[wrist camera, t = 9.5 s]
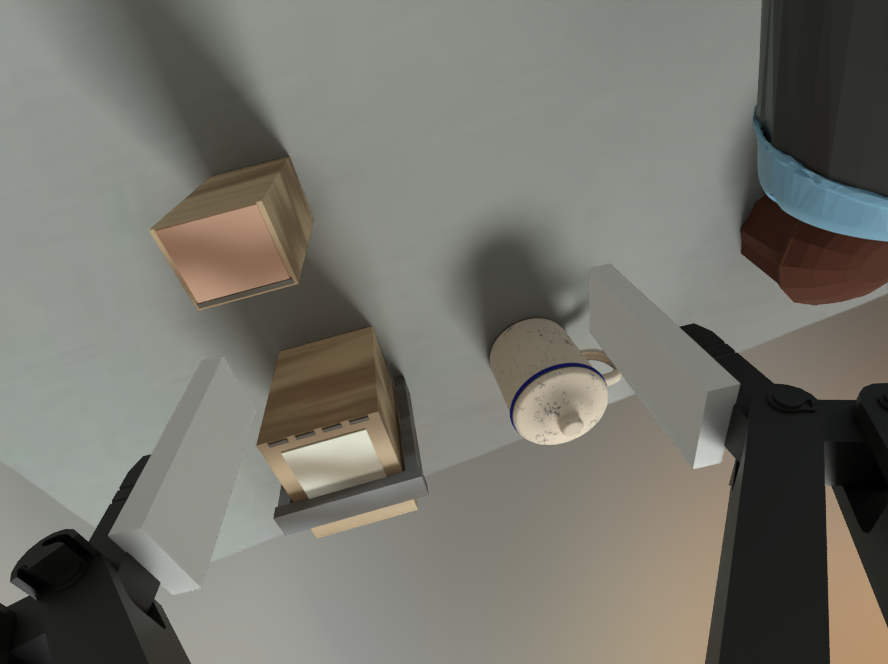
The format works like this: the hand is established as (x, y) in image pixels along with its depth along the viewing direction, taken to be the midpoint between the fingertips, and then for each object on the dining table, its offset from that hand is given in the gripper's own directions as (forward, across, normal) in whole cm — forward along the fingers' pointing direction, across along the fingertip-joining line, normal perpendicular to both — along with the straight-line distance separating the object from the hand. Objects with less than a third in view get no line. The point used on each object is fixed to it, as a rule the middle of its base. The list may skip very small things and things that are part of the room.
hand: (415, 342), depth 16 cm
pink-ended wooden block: (+23, -10, +1) cm, 25 cm away
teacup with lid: (+24, +11, -20) cm, 33 cm away
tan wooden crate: (+23, -10, -19) cm, 31 cm away
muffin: (+25, +36, -13) cm, 46 cm away
